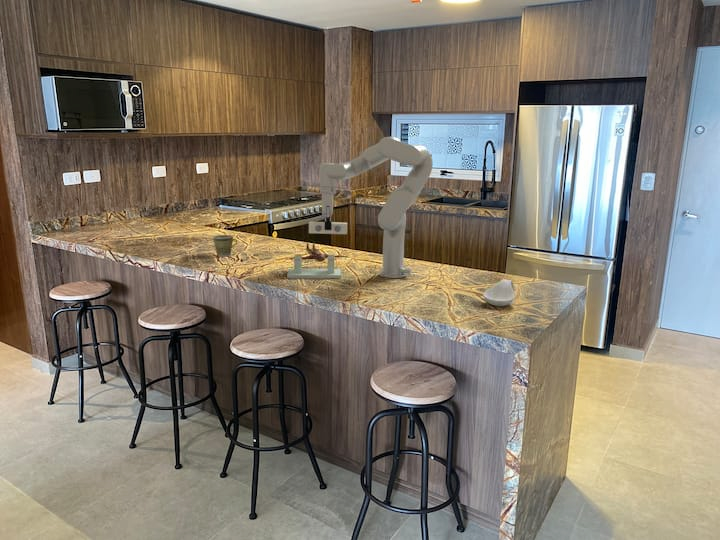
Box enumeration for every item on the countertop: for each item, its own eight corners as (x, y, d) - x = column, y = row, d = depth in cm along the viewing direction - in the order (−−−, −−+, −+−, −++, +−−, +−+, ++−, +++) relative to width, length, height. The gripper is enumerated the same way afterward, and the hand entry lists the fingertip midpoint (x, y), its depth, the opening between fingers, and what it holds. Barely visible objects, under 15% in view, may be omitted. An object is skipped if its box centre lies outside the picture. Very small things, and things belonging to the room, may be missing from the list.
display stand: (340, 271, 256) (340, 252, 254) (341, 278, 244) (341, 258, 242) (289, 271, 255) (288, 252, 252) (287, 278, 243) (286, 258, 241)
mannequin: (354, 252, 299) (354, 245, 298) (340, 264, 272) (340, 255, 271) (308, 249, 305) (308, 242, 304) (290, 260, 278) (289, 252, 277)
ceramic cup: (210, 256, 282) (209, 237, 279) (220, 252, 291) (219, 234, 288) (232, 258, 278) (231, 239, 275) (242, 254, 287) (241, 236, 285)
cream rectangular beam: (346, 233, 260) (347, 222, 259) (347, 234, 257) (347, 223, 255) (309, 232, 259) (309, 221, 258) (308, 233, 256) (308, 222, 254)
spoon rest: (510, 311, 204) (511, 292, 202) (479, 306, 209) (480, 288, 207) (522, 294, 225) (523, 278, 223) (493, 291, 230) (495, 274, 228)
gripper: (320, 188, 261) (320, 226, 265) (319, 192, 245) (319, 232, 249) (335, 188, 261) (335, 226, 266) (336, 192, 245) (336, 232, 250)
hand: (328, 228), depth 257 cm, fingers closed on cream rectangular beam, 3 cm apart
